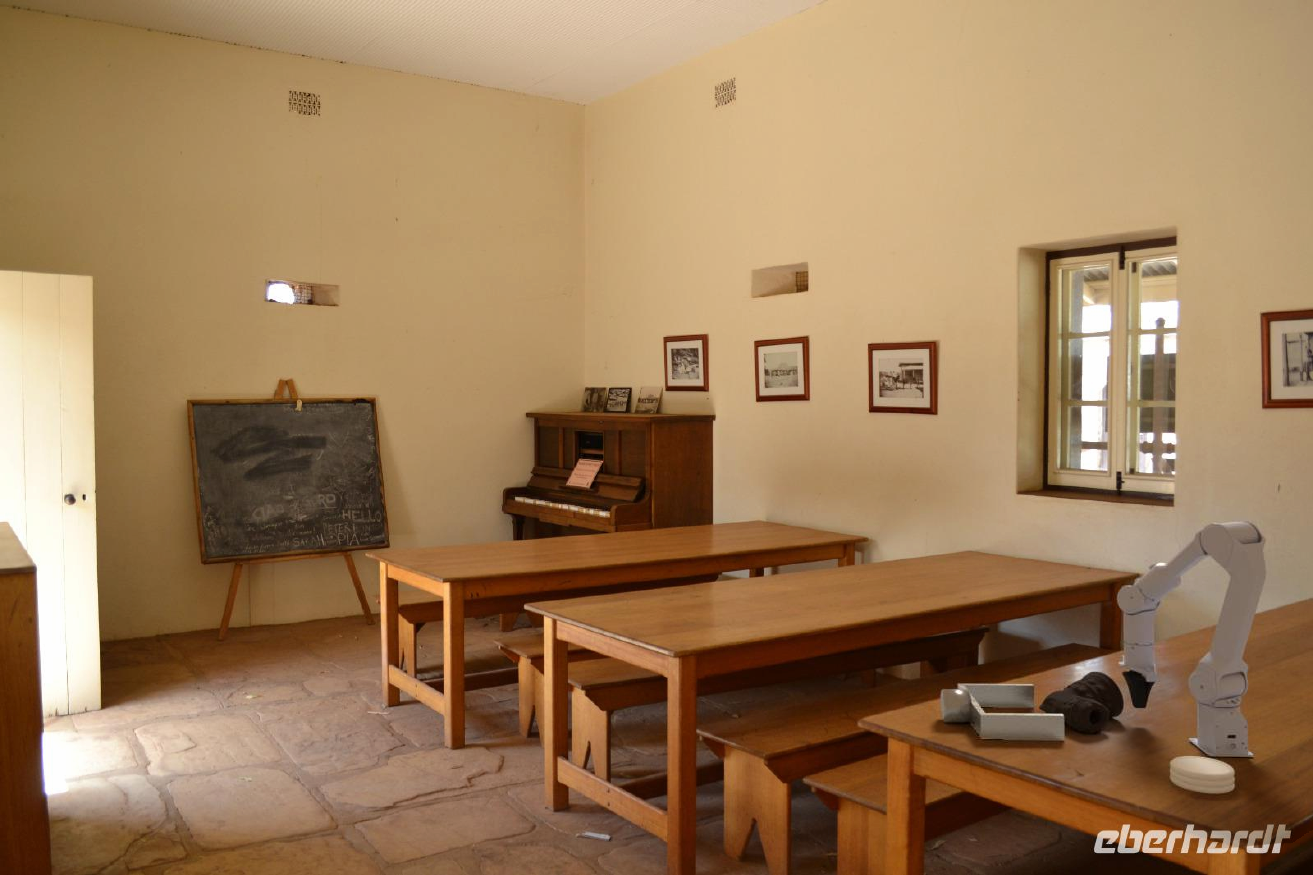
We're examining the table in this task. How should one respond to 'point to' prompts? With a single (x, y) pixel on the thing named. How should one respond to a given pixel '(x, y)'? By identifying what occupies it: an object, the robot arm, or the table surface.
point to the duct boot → (1000, 725)
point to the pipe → (1086, 702)
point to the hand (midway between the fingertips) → (1139, 707)
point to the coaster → (1202, 774)
